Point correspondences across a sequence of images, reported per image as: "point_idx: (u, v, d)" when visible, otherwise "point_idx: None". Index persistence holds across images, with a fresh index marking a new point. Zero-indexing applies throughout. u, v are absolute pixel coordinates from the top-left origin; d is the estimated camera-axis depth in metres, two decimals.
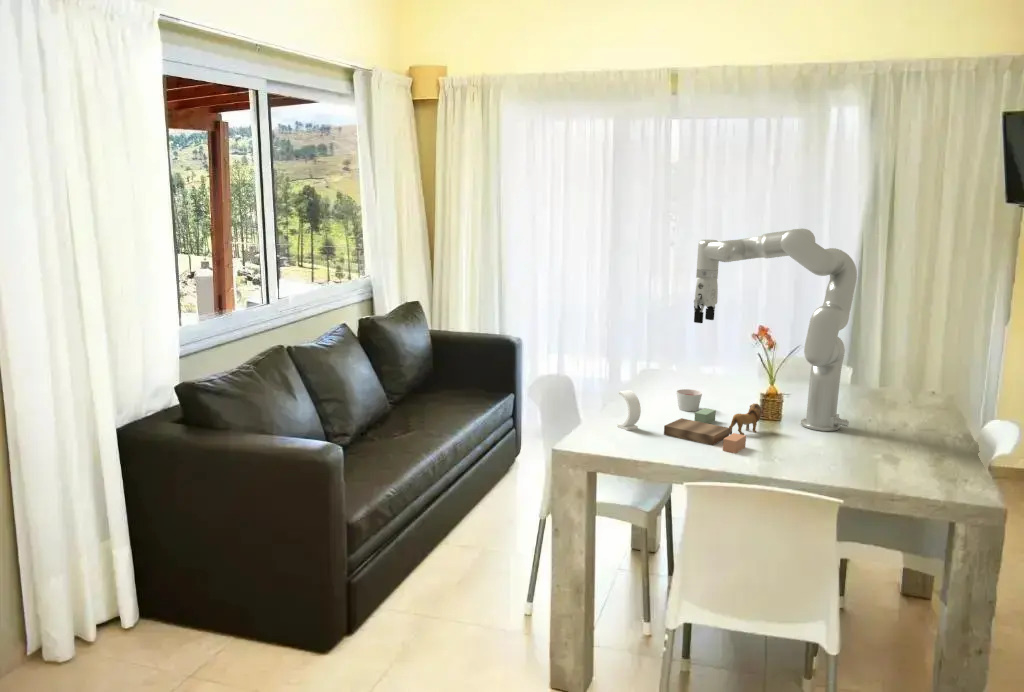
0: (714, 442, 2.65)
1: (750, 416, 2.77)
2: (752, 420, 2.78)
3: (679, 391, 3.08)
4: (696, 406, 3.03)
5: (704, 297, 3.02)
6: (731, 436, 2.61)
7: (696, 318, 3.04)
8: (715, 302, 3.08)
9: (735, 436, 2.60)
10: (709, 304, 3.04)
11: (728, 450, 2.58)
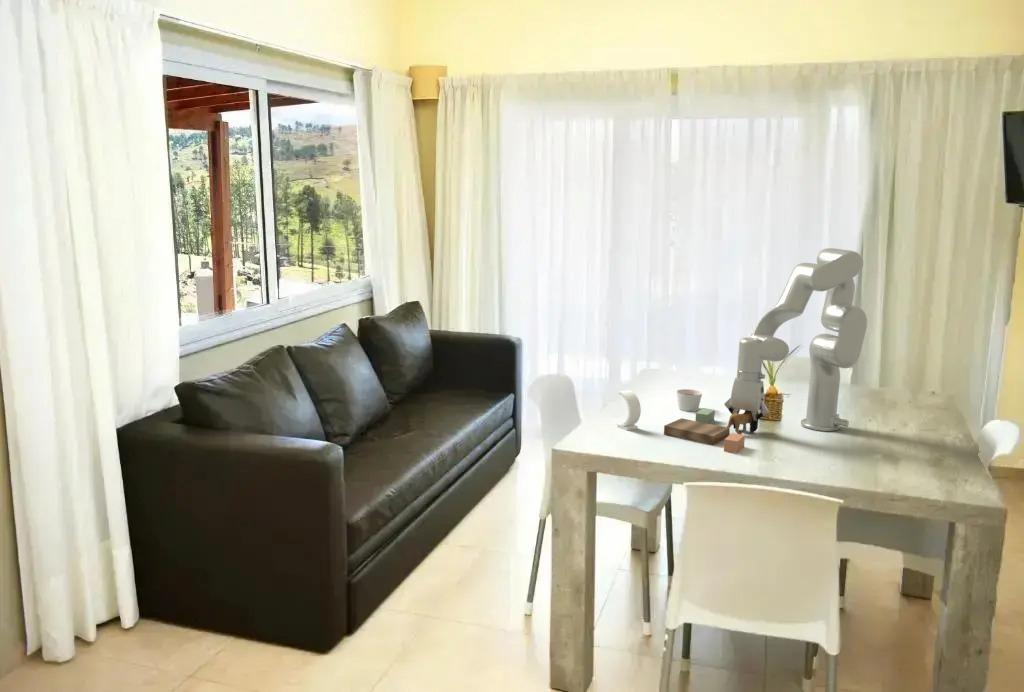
0: (714, 442, 2.65)
1: (746, 415, 2.77)
2: (749, 419, 2.77)
3: (679, 391, 3.08)
4: (696, 406, 3.03)
5: None
6: (731, 436, 2.60)
7: (756, 427, 2.76)
8: None
9: (735, 436, 2.60)
10: None
11: (729, 450, 2.57)
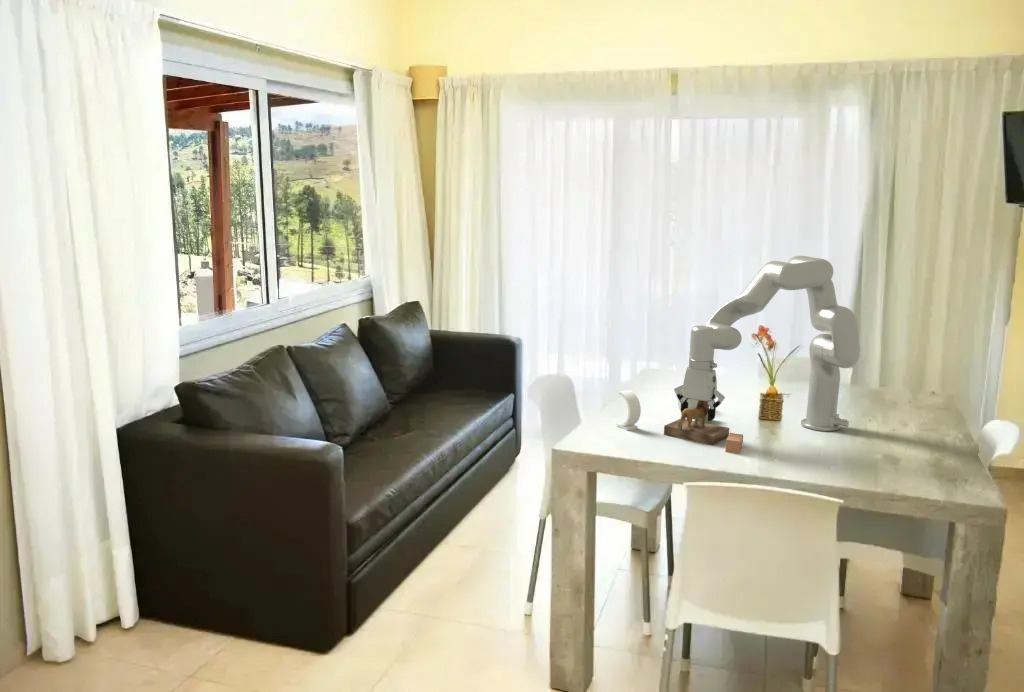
0: (714, 442, 2.65)
1: (699, 410, 2.71)
2: (701, 414, 2.71)
3: None
4: None
5: (716, 390, 2.69)
6: (731, 436, 2.60)
7: (713, 416, 2.69)
8: None
9: (735, 436, 2.60)
10: None
11: (731, 451, 2.57)
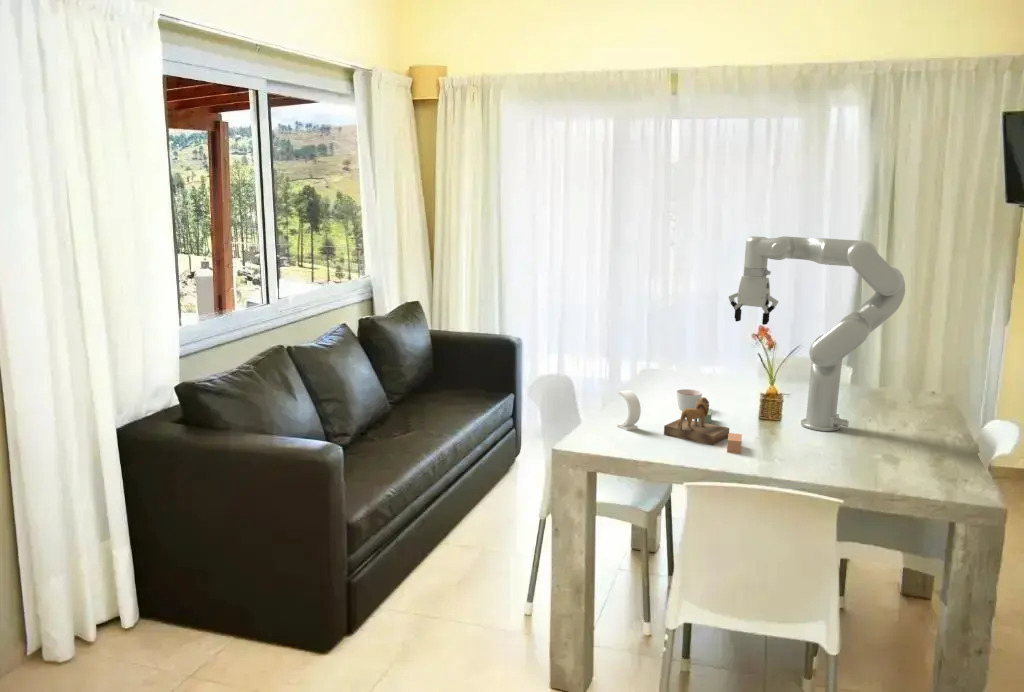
0: (714, 442, 2.65)
1: (699, 410, 2.71)
2: (701, 414, 2.71)
3: (679, 391, 3.08)
4: None
5: None
6: (731, 436, 2.60)
7: (767, 320, 2.89)
8: None
9: (735, 436, 2.60)
10: None
11: (733, 451, 2.57)
